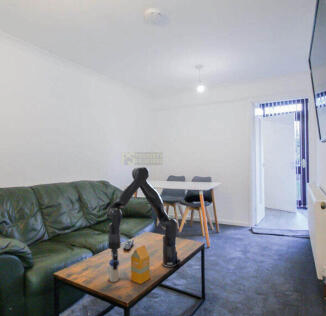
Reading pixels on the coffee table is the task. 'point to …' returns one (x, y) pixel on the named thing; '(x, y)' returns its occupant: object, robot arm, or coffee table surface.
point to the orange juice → (140, 265)
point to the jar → (113, 274)
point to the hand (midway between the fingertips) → (114, 267)
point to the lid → (112, 262)
